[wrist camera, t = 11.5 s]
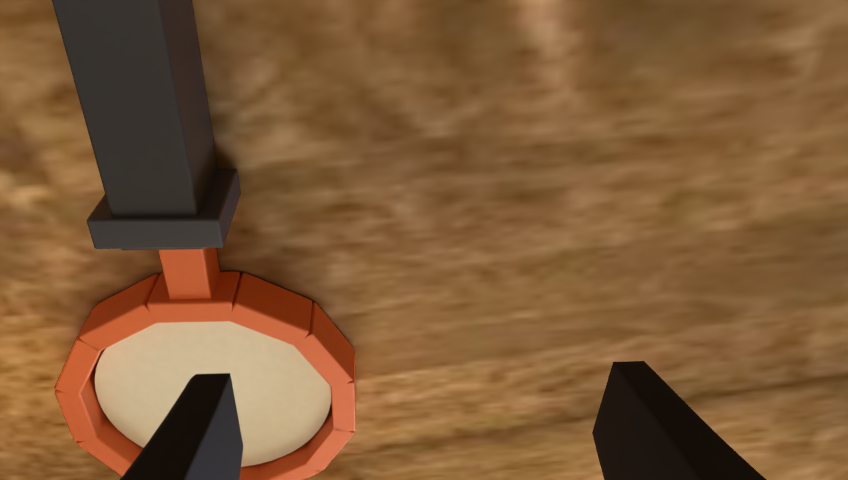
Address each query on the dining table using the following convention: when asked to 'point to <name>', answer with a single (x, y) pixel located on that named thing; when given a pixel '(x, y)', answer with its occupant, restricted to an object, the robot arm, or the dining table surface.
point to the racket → (184, 264)
